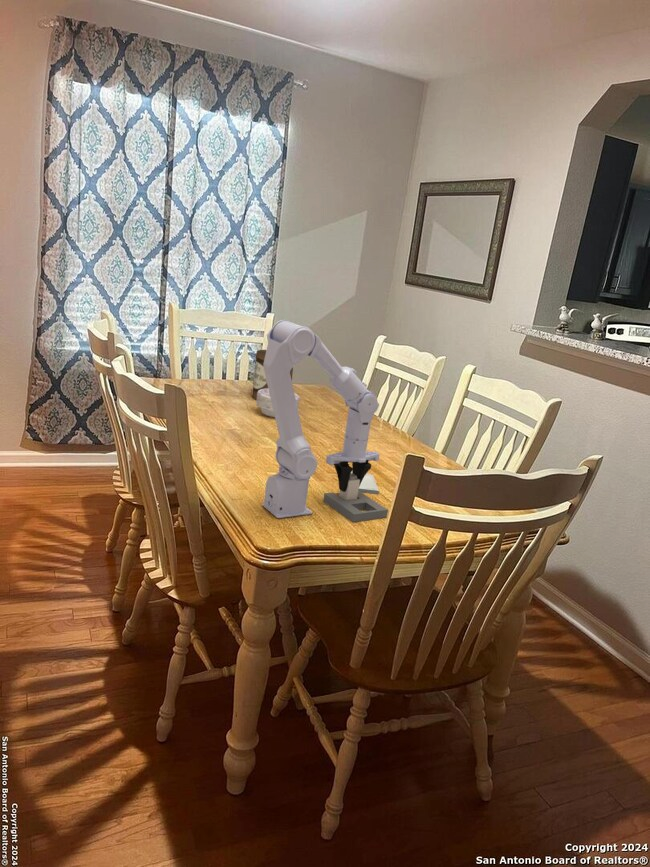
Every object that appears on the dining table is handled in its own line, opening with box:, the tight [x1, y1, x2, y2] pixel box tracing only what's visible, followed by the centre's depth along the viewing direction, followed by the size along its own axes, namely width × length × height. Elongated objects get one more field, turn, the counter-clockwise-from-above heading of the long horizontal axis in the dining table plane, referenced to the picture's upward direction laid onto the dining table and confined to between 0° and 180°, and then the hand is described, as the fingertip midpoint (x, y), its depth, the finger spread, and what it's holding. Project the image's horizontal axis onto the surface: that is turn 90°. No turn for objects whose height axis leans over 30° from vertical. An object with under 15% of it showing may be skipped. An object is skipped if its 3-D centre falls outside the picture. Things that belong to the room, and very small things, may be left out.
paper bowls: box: [255, 388, 301, 419], centre depth 234 cm, size 15×15×8 cm
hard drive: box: [351, 472, 380, 495], centre depth 177 cm, size 2×8×12 cm
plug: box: [339, 473, 360, 500], centre depth 162 cm, size 3×3×7 cm
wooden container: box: [251, 349, 294, 401], centre depth 254 cm, size 15×15×22 cm
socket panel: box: [322, 491, 389, 523], centre depth 160 cm, size 10×13×2 cm
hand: (348, 489), depth 162 cm, fingers closed on plug, 3 cm apart
